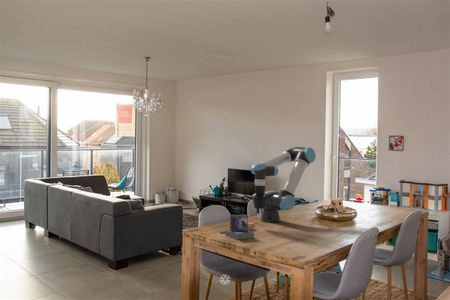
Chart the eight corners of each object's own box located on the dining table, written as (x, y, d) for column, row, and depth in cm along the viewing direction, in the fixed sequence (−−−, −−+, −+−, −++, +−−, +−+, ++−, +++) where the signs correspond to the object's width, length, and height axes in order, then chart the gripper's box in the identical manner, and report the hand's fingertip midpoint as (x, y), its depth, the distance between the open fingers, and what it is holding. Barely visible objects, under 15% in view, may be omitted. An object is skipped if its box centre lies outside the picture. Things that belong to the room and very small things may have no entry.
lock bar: (252, 228, 277) (252, 222, 277) (254, 228, 275) (254, 223, 275) (237, 230, 270) (237, 224, 269) (240, 231, 267) (240, 225, 267)
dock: (234, 230, 270) (234, 226, 270) (253, 237, 253) (253, 232, 253) (219, 233, 263) (219, 228, 263) (239, 240, 246) (239, 235, 246)
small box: (232, 232, 251) (232, 216, 251) (229, 230, 257) (229, 214, 257) (248, 231, 254) (248, 215, 253) (244, 229, 260) (245, 214, 260)
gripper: (263, 184, 285) (262, 216, 286) (249, 184, 277) (248, 217, 278) (270, 185, 279) (269, 217, 279) (256, 186, 271) (255, 219, 272)
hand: (259, 217), depth 279 cm, fingers closed
